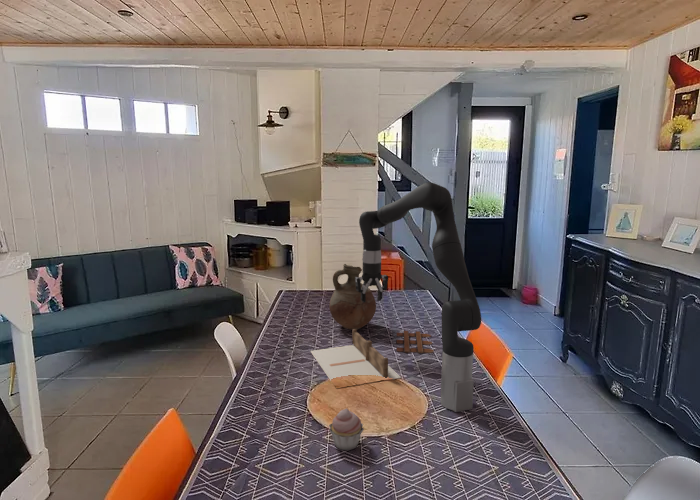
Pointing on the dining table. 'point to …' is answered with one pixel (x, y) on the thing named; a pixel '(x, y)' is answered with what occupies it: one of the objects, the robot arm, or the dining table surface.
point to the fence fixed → (376, 359)
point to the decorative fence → (413, 342)
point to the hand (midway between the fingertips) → (371, 301)
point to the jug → (351, 301)
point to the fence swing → (359, 341)
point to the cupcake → (346, 430)
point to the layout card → (347, 362)
